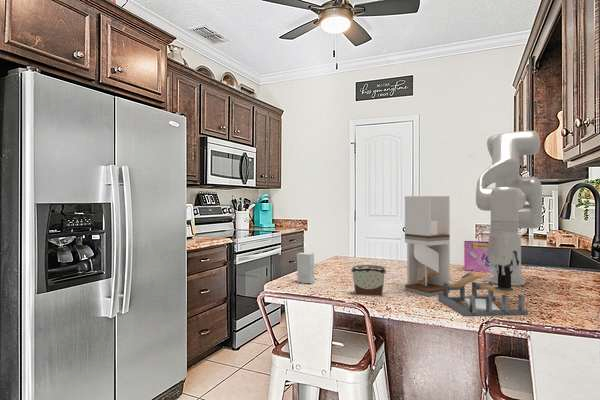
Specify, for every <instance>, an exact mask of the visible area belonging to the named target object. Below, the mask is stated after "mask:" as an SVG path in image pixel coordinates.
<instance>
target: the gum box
mask: <svg viewBox="0 0 600 400" xmlns="http://www.w3.org/2000/svg"><path fill="white" fill-rule="evenodd" d="M463 248H464V249H463V250H464V252H463V253H464V254H463V257H464V260H463V261H464V262H463V263H464V271H465V270H473V271H472V272H478V271H483V272H482V273H492V271H493V270H494V266H493V265H492V263H490V262H489V261H488V241H481V240H480V241H479V240H477V241H476V240H464V242H463Z"/></svg>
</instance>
